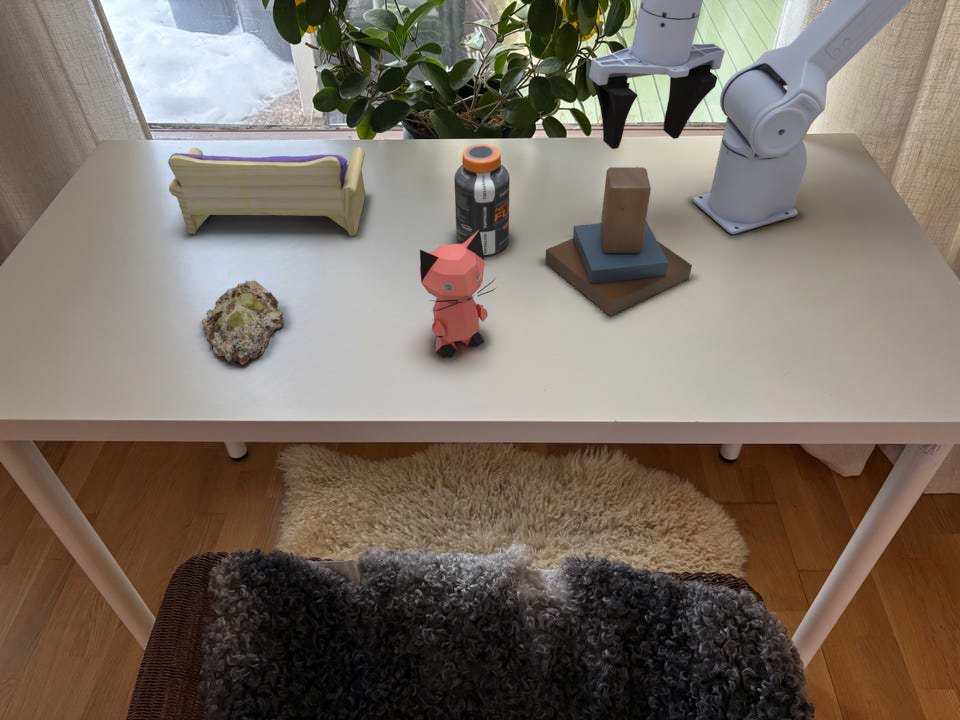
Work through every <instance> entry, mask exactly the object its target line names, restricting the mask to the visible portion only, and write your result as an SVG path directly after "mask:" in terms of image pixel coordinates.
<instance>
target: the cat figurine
mask: <svg viewBox="0 0 960 720" xmlns="http://www.w3.org/2000/svg"><path fill="white" fill-rule="evenodd" d="M419 260H420V261H419V264H420V265H419V273H420V283H421V285H422V287H424V289H425V290H426V292H427V293H428V294H430V295H432V296H433V297H435V298H436V299H435V300H433V299H431V300H428V301H429V302H434V305H433V308H432V313H433V323H432V325H431V332H432V334H433V336H434V337H437V338H436V341H435V354H437V355H438V356H439V357H441V358H443V359H445V358H452V357H453V356H454V355H455V353H456V351H457V347H456V344H455V342H460V341H461V342H462V343H463V344H465V345H466V346H470V347H479V346H481V345H483V343H485V341H484V337H483V334H482V333H480V332H479V331H480V321H481V322H485V320H486V319H488V317H489V315H488V310H487V308H485V307H484V305H483V304H480V303H476V301H475V299H474V297H475V296H477V297H480V296H482V295H485V294H489V293H491V292H493V291H495V290H496V289H497V288H498V286H496V287H494V288H493V289H491V290H488V291H485V292H483V293H481V292H482V291H484V290H485V289H486V288H487V287H488V286H490V285H491V284H492V283H494V281H495V280H496V278H494V279H493V280H492V281H491V282H489V283H488V284H486V285H485V286H484V287H483V288H481V289H480V287H481V286H482V284H483V281H484V271H485V262H486V260H485V255H484V253H483V247H482V241H481V235H480V230H478V231H477V232H476V233H475V234H474V235H473V236H471V237H470V238H469V239H468V240H467V241H465V242H464V243H463V244H458V243H449V244H444V245H441V246H438V247H437V248H435V249H434V250H433V251H431V252H427V251H424V250H422V249H419ZM479 289H480V290H479ZM475 293H476V294H477V295H476V294H475Z"/></svg>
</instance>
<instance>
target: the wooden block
mask: <svg viewBox="0 0 960 720" xmlns="http://www.w3.org/2000/svg"><path fill="white" fill-rule="evenodd" d="M604 183H605V184H604V193H603V202H602V211H601V220H600V223H601V228H600V234H601V242H602V249H603V252H604V253H640V251H641V249H642V243H643V236H644V230H645V223H646V221H647V216H648V211H649V203H650V197H651V190H652V188H651V184H650V179H649V174H648V169H647V168H645V167H639V166H638V167H636V166H635V167H633V166H632V167H631V166H629V167H627V166H626V167H625V166H624V167H623V166H622V167H620V166H618V167H617V166H615V167H614V166H613V167H608V168H607V170H606V173H605V181H604Z"/></svg>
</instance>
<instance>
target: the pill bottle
mask: <svg viewBox="0 0 960 720" xmlns="http://www.w3.org/2000/svg"><path fill="white" fill-rule="evenodd" d="M501 154H502V153H501V150H500V149H499V148H498V147H496V146H494V145H493V144H488V143H476V144H472V145H469V146H467V147H466V148H465V149H463V152H462V159H461V160H462V161H461V163H462V164H461V165H460V166H459V167H458V168H457V169H456V170H455V174H454V177H453V178H454V179H453V180H454V201H455V202H454V207H455V208H454V210H455V231H456V242H457V244H463V243H464V242H465V241H467V240H468V239H469V238H470V237H471V236H473V235H474V234H475V233H476V232H477V231H478V230H480V235H481V241H482V247H483V253H484V256H489V255H494V254H496V253H499V252H501V251H502V250H503V249H505V248H506V246H507V245H508V243H509V240H510V186H511V185H510V184H511V183H510V173H509V171H508V169H507V168H506V167H505V165H503V164H502V159H501V158H502V157H501Z"/></svg>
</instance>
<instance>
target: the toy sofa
mask: <svg viewBox="0 0 960 720" xmlns="http://www.w3.org/2000/svg"><path fill="white" fill-rule="evenodd" d="M365 156H366V153H365V150H364V149H363V148H362V147H359V146H358V147H354V148H353V149H352V151H351V154H350V156H349V157H350V158H349V161H348V159H346V158H345V157H344V156H343V155H339V154H312V155H300V156H297V155H296V156H291V155H272V156H264V157H263V156H262V157H251V156H249V157H248V156H247V157H245V156H227V155H204V153H203V151H202V150H201V149H200V148H198V147H191V149H189V151H188V152H187V153H183V152H175V153H172V154H171V155H170V156H169V158H168V162H167V164H168V166H169V168H170V170H171V172H172V174H173V176H174V177H173V179H172V180H171V182H170V184H169V186H168V191H169V193H170V194H171V195H172V196H174V197H176V199H177V202H178V206H179V208H180V212H181V215H182V218H183V221H184V224H185V227H186V231H187V233H188V234H190V235H194V234H196V233H197V231H198V230H199V228H200V227H201V226H202V225H203V223H204V222H205V221H207V218H209V216H225V215H226V216H307V217H308V216H309V217H311V216H312V217H327V218H329V219H330V220H332V221H333V222H335V224H337V225H339V226H340V227H341V228H343V229H344V230H345V231H346V232H347V234H348V235H349V236H350V237H355V236H356V235H357V233H358V231H359V227H360V222H361V219H362V214H363V209H364V204H365V199H366V189H365V183H364V178H363V176H364V175H363V171H362V170H363V164H364V161H365Z"/></svg>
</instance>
